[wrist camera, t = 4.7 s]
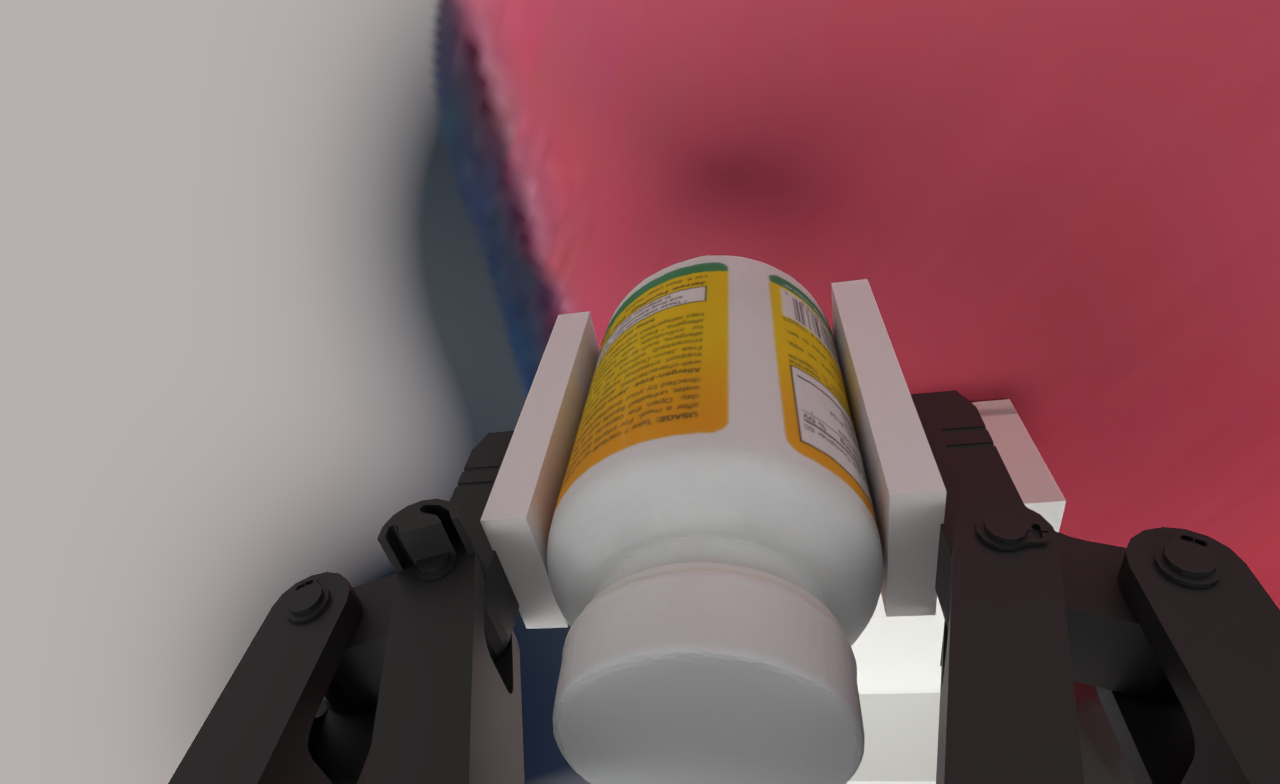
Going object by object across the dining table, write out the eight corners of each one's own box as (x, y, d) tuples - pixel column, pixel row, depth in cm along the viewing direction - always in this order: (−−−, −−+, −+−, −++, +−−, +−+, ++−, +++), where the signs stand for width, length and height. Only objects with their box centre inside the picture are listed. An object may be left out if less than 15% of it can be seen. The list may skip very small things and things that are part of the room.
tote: (681, 427, 32) (675, 525, 27) (1009, 399, 30) (1066, 500, 25) (732, 692, 45) (734, 790, 40) (964, 687, 42) (996, 792, 37)
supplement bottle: (868, 278, 15) (1021, 678, 7) (787, 458, 18) (835, 873, 11) (626, 221, 15) (523, 572, 7) (586, 413, 18) (484, 803, 10)
